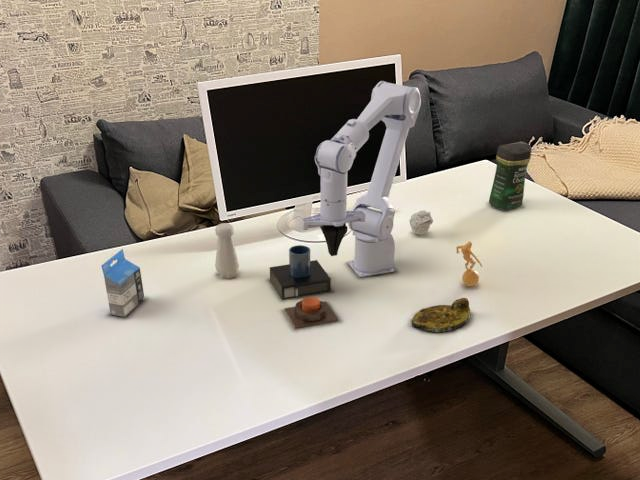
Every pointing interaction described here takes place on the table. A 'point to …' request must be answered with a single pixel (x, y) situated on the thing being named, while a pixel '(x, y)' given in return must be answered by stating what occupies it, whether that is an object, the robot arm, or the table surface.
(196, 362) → the table surface
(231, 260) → the salt shaker
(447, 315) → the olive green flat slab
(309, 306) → the button
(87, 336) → the table surface
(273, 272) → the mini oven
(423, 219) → the crumpled paper ball
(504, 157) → the coffee jar
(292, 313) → the control pad
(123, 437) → the table surface
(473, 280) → the figurine
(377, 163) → the robot arm
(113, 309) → the blue and grey carton
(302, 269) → the cup
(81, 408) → the table surface
